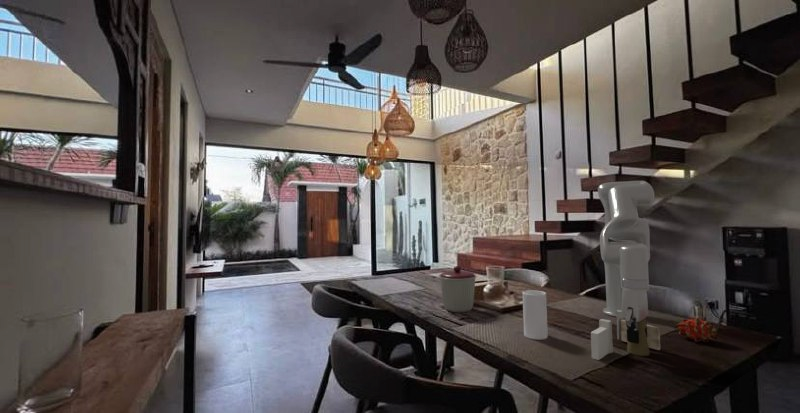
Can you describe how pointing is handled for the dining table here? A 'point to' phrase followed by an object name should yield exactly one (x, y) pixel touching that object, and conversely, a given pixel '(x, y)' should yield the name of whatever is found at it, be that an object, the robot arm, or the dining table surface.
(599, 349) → the wall frame
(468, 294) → the canister
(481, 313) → the dining table surface
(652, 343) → the gate
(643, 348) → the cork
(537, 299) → the cup
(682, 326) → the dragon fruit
